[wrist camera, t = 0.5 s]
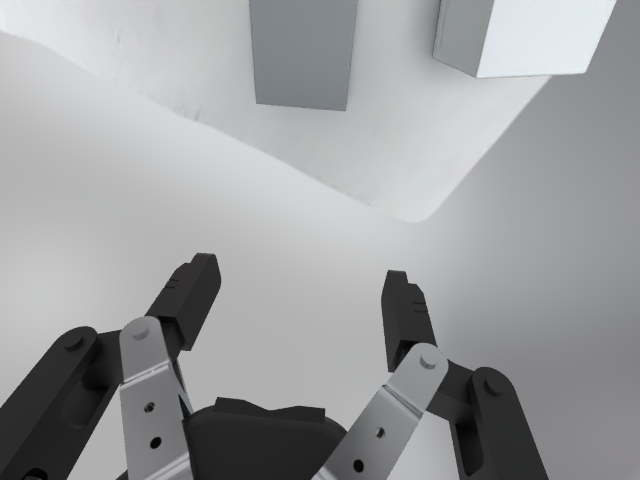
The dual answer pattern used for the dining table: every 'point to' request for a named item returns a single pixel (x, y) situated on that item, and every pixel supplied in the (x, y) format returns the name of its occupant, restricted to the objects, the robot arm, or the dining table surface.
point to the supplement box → (520, 36)
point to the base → (302, 52)
